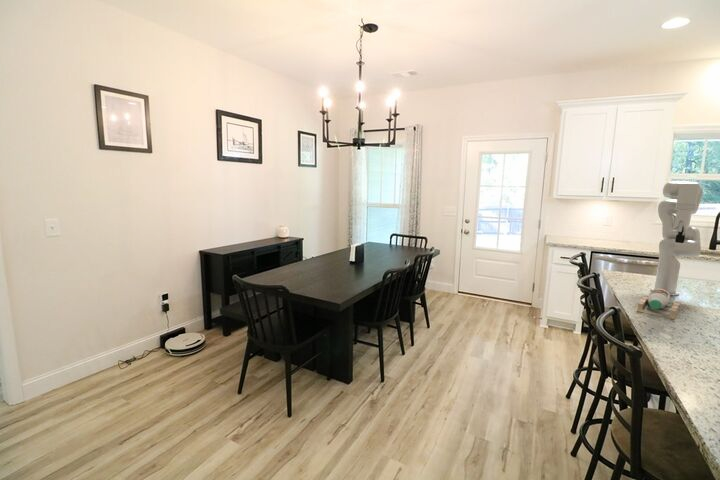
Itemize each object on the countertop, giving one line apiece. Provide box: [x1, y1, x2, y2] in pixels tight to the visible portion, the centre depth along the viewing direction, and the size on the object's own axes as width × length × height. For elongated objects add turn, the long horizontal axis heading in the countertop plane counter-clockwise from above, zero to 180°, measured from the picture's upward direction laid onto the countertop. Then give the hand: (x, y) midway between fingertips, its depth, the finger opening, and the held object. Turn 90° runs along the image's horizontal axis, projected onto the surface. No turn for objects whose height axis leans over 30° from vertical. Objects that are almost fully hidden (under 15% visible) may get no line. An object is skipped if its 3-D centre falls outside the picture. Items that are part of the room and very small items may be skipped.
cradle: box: [636, 294, 682, 320], centre depth 172 cm, size 20×14×4 cm
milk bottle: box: [648, 289, 671, 309], centre depth 173 cm, size 8×8×20 cm
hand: (679, 242), depth 180 cm, fingers closed
